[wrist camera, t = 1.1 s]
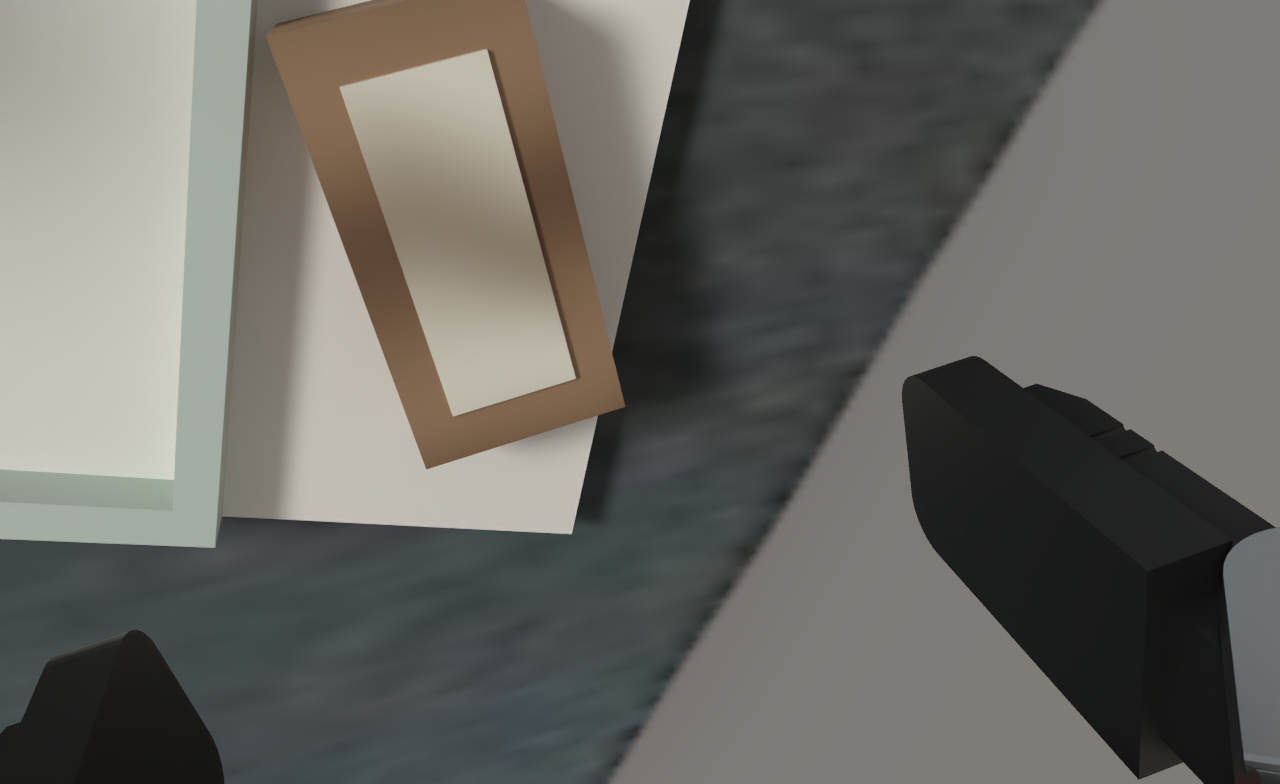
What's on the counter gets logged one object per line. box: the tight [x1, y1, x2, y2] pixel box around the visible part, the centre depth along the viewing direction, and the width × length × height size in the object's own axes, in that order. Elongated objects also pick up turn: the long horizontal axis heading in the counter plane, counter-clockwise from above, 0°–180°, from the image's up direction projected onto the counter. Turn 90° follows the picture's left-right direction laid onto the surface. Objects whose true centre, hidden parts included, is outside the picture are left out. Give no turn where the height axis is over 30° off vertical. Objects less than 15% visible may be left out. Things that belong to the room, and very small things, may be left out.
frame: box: [266, 0, 625, 469], centre depth 23 cm, size 10×5×3 cm, turn 12°
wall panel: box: [0, 0, 690, 548], centre depth 22 cm, size 20×19×3 cm
